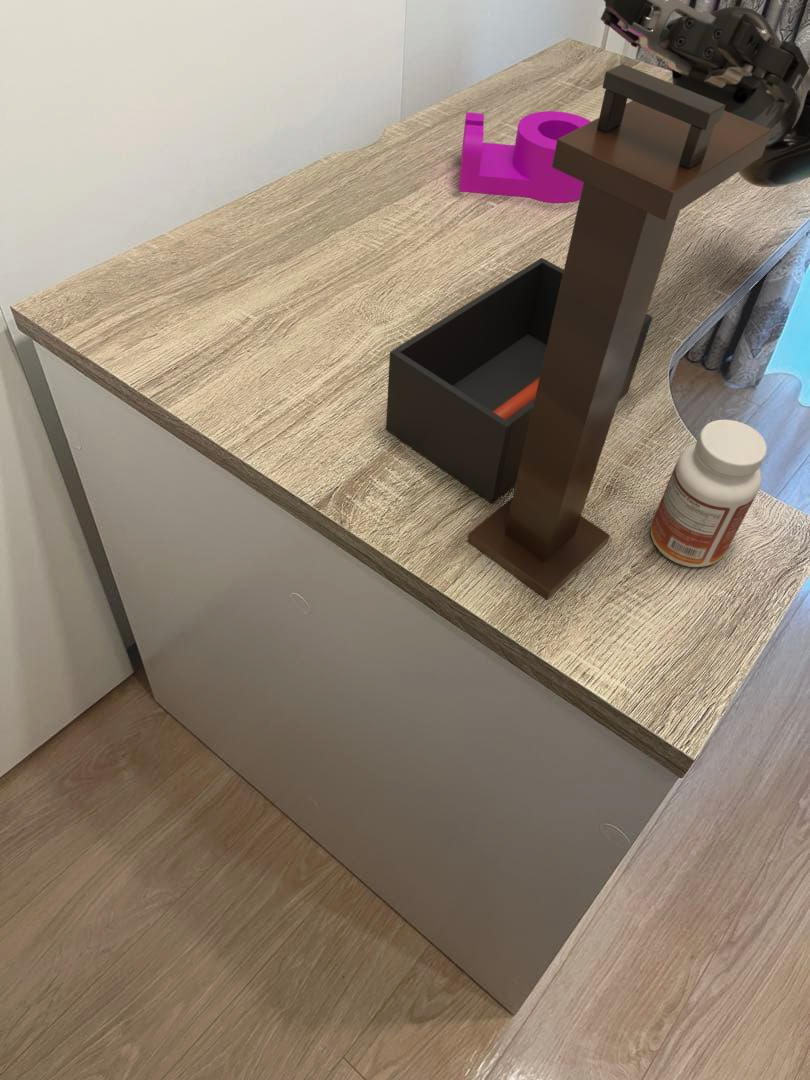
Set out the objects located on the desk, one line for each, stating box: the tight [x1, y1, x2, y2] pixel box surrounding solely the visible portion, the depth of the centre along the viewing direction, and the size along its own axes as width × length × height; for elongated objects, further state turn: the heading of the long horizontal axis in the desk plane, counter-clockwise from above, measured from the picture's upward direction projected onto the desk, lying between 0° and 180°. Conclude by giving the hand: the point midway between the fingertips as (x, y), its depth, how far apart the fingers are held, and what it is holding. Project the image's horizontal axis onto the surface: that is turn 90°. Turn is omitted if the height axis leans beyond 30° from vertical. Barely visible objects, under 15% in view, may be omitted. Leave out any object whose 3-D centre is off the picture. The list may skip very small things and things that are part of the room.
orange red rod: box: [493, 377, 540, 420], centre depth 77 cm, size 17×2×2 cm, turn 137°
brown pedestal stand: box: [467, 63, 772, 600], centre depth 56 cm, size 11×8×35 cm
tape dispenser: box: [458, 110, 592, 204], centre depth 103 cm, size 16×10×6 cm, turn 86°
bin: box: [385, 257, 654, 504], centre depth 75 cm, size 20×12×9 cm, turn 137°
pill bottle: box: [650, 419, 768, 568], centre depth 65 cm, size 6×6×11 cm
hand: (671, 7), depth 55 cm, fingers open, 8 cm apart
